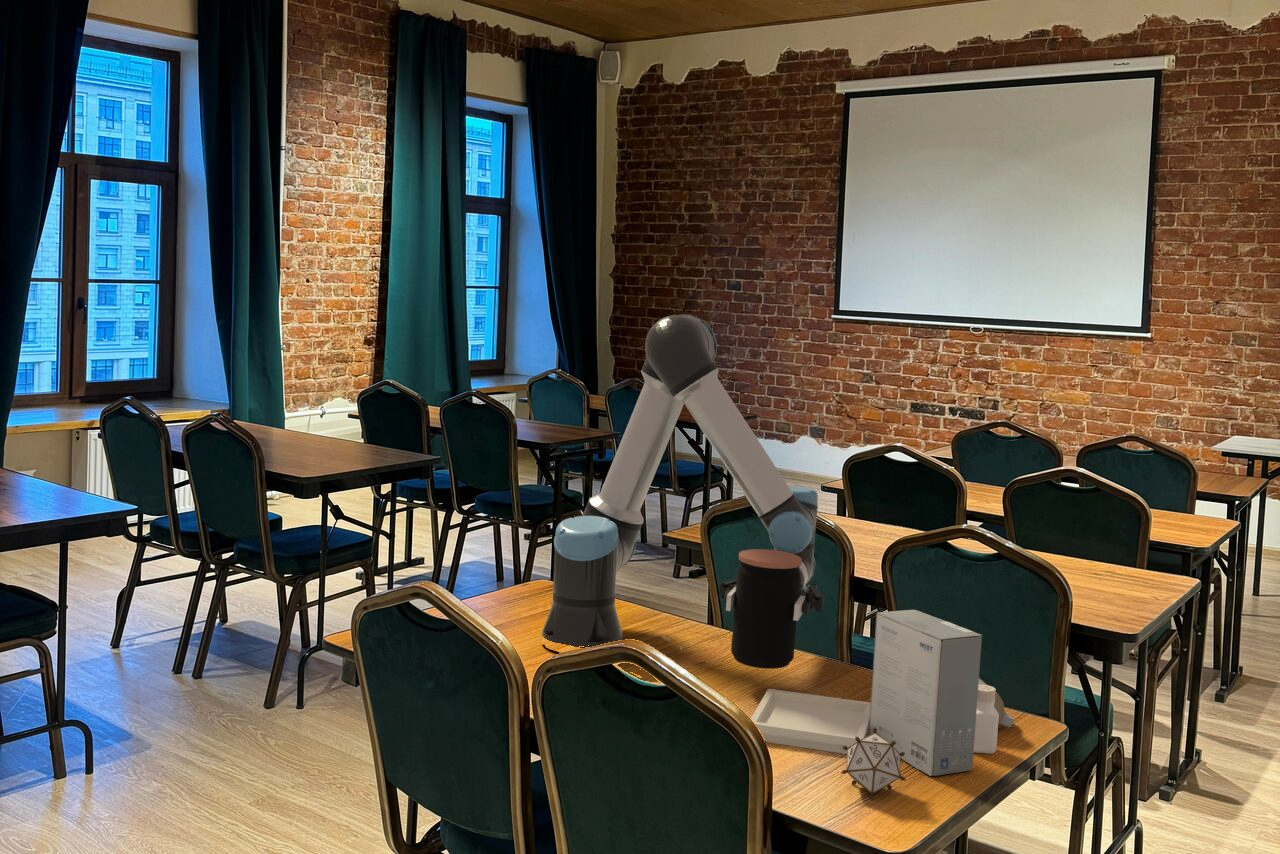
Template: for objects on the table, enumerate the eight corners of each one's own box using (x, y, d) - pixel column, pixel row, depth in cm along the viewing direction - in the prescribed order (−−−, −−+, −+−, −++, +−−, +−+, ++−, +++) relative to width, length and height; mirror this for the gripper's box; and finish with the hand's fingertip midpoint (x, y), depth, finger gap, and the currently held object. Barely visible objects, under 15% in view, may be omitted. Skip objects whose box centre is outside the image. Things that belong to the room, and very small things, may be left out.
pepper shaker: (969, 753, 172) (974, 691, 171) (963, 743, 176) (968, 682, 175) (996, 755, 172) (1001, 693, 171) (990, 745, 176) (995, 684, 175)
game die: (884, 820, 157) (930, 776, 152) (834, 804, 154) (879, 759, 149) (868, 765, 164) (911, 722, 160) (819, 750, 161) (862, 705, 156)
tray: (747, 739, 174) (748, 723, 174) (767, 703, 190) (768, 688, 190) (861, 756, 169) (863, 739, 169) (872, 718, 186) (873, 703, 185)
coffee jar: (806, 664, 196) (815, 560, 194) (760, 673, 190) (769, 565, 188) (763, 647, 205) (771, 546, 203) (717, 655, 198) (725, 551, 196)
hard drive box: (974, 772, 165) (985, 635, 163) (931, 779, 162) (941, 639, 160) (906, 733, 180) (915, 607, 177) (865, 739, 176) (874, 610, 174)
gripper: (845, 608, 210) (830, 640, 189) (721, 591, 217) (692, 620, 196) (849, 567, 210) (834, 595, 189) (724, 551, 216) (695, 576, 195)
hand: (762, 607), depth 192 cm, fingers closed on coffee jar, 11 cm apart
